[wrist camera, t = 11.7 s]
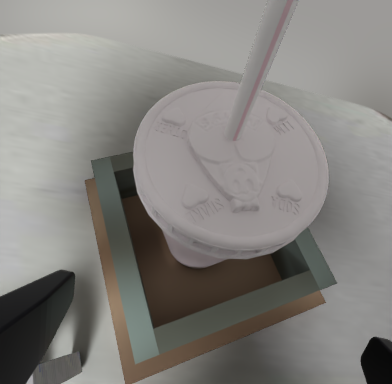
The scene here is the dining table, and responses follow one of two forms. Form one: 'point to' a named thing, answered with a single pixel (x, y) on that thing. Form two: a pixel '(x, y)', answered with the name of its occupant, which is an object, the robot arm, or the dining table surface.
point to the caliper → (57, 370)
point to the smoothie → (231, 162)
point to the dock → (187, 282)
